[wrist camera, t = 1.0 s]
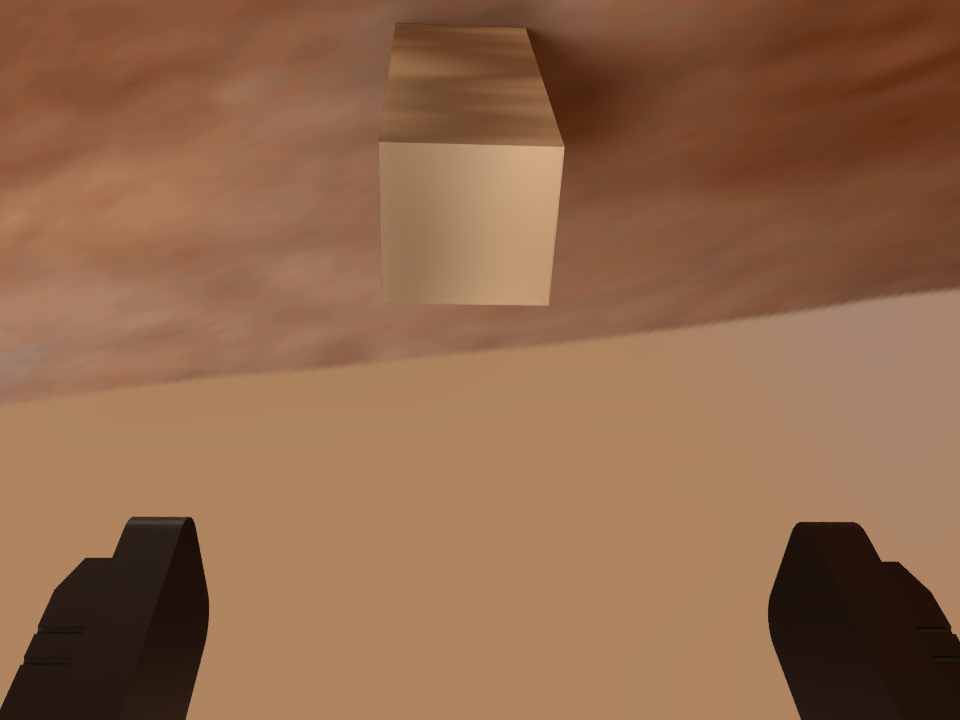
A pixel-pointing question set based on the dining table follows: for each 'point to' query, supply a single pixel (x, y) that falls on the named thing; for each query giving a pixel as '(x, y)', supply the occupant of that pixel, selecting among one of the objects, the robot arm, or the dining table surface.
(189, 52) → the dining table surface
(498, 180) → the wooden block
